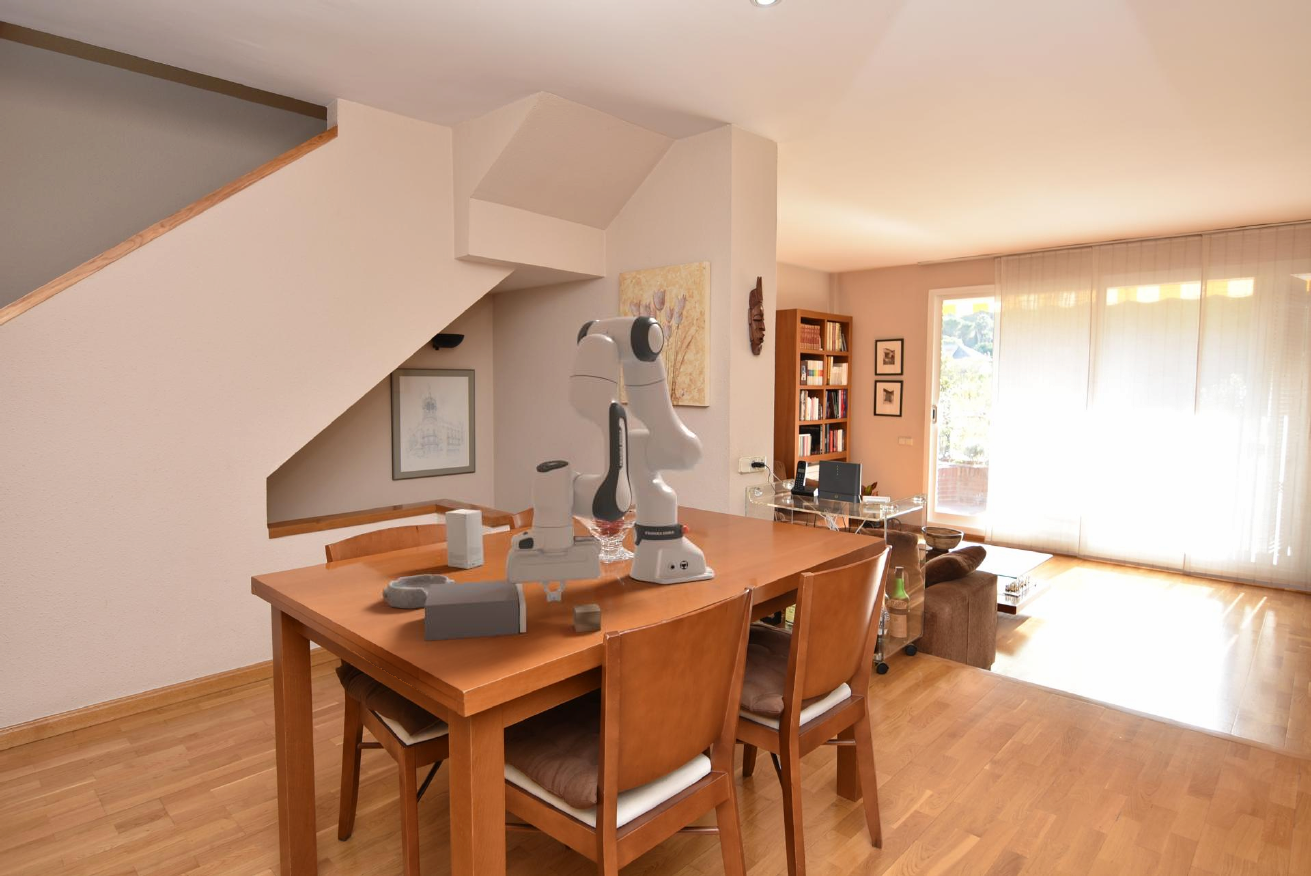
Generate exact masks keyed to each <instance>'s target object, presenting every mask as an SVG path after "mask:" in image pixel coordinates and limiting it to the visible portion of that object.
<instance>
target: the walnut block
mask: <svg viewBox="0 0 1311 876" xmlns="http://www.w3.org/2000/svg"><path fill="white" fill-rule="evenodd" d="M572 608H573V610H572V611H573V612H572V613H573V616H572V617H573V621H572V622H573V623H572V624H573V627H574V629H575V632H576V633H579V632H580V633H582V632H593V631H596V632H597V631H601V630H602V629H601V628H602V627H601V626H602V619H601V618H602V617H601V616H602V611H601V609H600V607H599V605H598V604H597V603H595V604H594V603H593V604H579V605H578V604H577V605H576V604H575V605H573V607H572Z"/></svg>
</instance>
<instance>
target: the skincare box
mask: <svg viewBox="0 0 1311 876" xmlns="http://www.w3.org/2000/svg"><path fill="white" fill-rule="evenodd" d="M444 514H445V530H446V531H445V533H446V552H447V566H448V567H453V568H459V569H466V570H469V569H473V568H477V567H480V566H484V544H483V543H484V541H483V540H484V539H483V522H482V521H483V519H482V510H475V509H463V508H461V509H455V510H451V511H446V512H444Z"/></svg>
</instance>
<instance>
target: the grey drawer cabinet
mask: <svg viewBox="0 0 1311 876" xmlns="http://www.w3.org/2000/svg"><path fill="white" fill-rule="evenodd" d="M519 633H520V629H519V616H518V595H517V589H516V584H509V583H508V582H507V580H506V579H504V580H502V579H501V580H485V581H469V582H467V581H466V582H454V583H448V584H430V588H429V592H428V595H427V599H426V602H425V607H424V639H425V640H424V641H425V642H426V641H427V642H428V641H441V640H451V639H452V640H453V639H467V638H470V639H471V638H481V637H483V638H484V637H495V636H507V635H519Z"/></svg>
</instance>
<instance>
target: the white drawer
mask: <svg viewBox="0 0 1311 876" xmlns="http://www.w3.org/2000/svg"><path fill="white" fill-rule="evenodd" d="M516 589H517V595H518V616H519V633H527V603H526V597H525V594H524V587H523V583H517V584H516Z"/></svg>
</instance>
